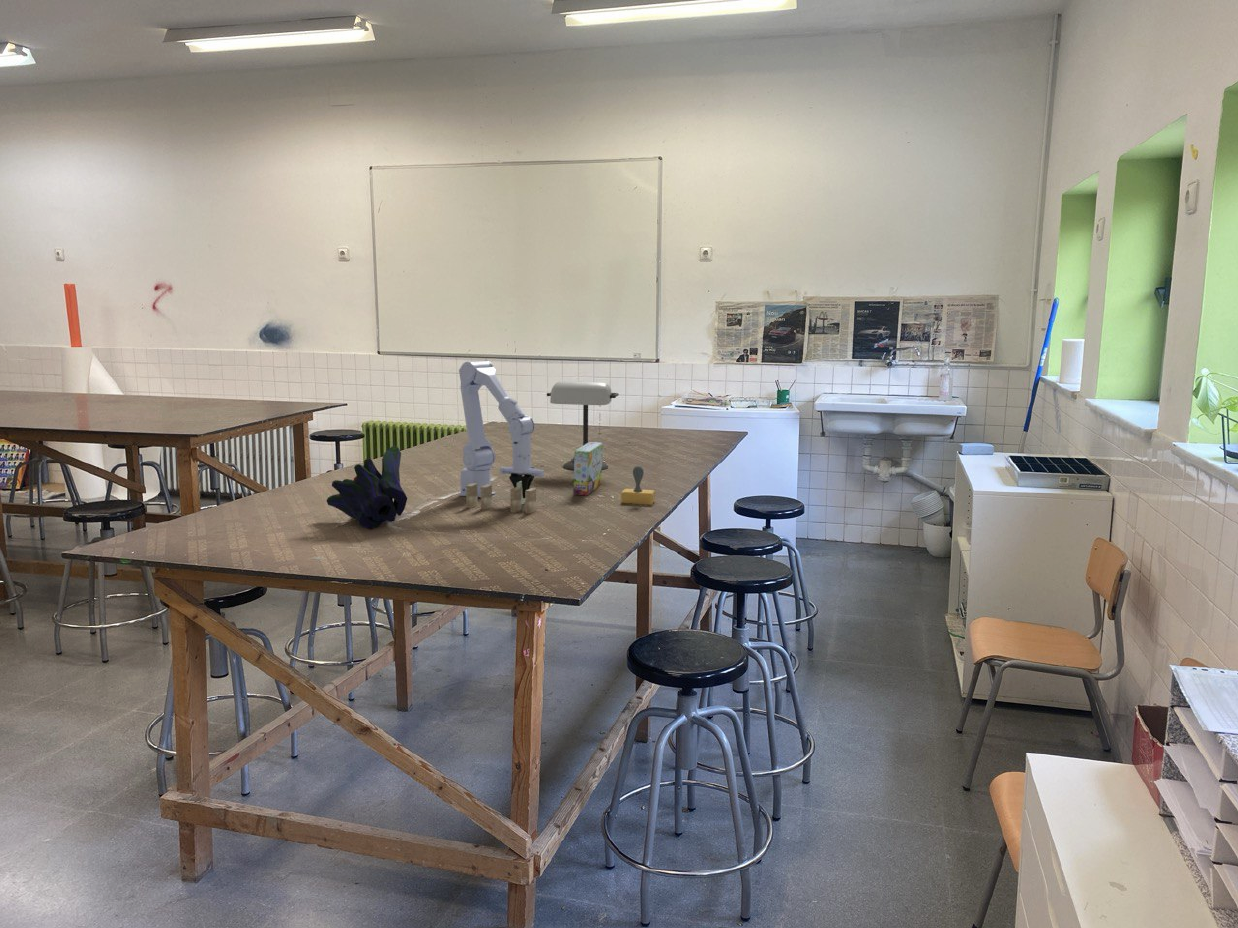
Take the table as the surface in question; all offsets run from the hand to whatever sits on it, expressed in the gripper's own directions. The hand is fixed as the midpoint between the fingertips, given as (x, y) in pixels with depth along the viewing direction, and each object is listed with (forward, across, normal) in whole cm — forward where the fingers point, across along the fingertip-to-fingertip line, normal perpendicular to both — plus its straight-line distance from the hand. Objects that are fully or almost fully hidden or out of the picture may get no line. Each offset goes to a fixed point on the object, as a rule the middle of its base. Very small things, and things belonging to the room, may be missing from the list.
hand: (521, 497), depth 285 cm
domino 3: (+2, +2, -10) cm, 10 cm away
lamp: (+2, -3, +64) cm, 64 cm away
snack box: (+2, +12, +28) cm, 31 cm away
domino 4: (+2, 0, 0) cm, 2 cm away
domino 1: (+2, -12, -10) cm, 16 cm away
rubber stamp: (+2, +34, +15) cm, 37 cm away
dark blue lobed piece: (+2, -32, -36) cm, 48 cm away
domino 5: (+2, +8, -10) cm, 13 cm away
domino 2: (+2, -8, -10) cm, 13 cm away
